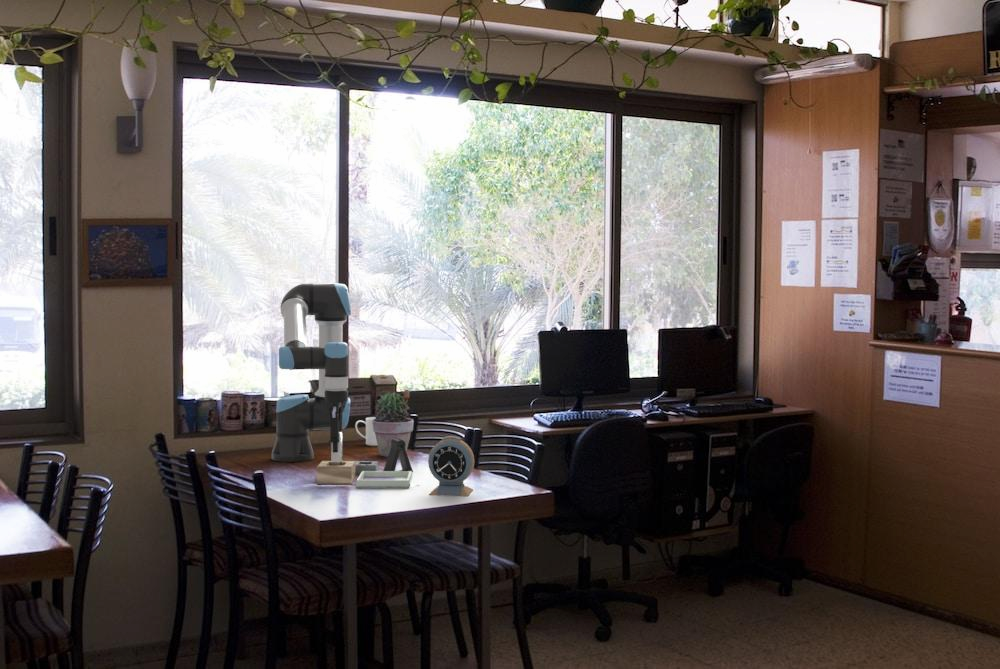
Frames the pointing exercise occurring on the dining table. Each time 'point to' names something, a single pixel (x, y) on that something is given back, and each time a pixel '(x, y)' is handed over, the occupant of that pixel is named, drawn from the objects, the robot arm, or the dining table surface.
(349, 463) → the bore block
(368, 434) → the white pitcher
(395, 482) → the tray
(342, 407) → the robot arm
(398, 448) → the dark grey a-frame stand
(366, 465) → the gauge stand
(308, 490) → the dining table surface
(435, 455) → the alarm clock
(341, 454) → the white peg
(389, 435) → the potted plant
